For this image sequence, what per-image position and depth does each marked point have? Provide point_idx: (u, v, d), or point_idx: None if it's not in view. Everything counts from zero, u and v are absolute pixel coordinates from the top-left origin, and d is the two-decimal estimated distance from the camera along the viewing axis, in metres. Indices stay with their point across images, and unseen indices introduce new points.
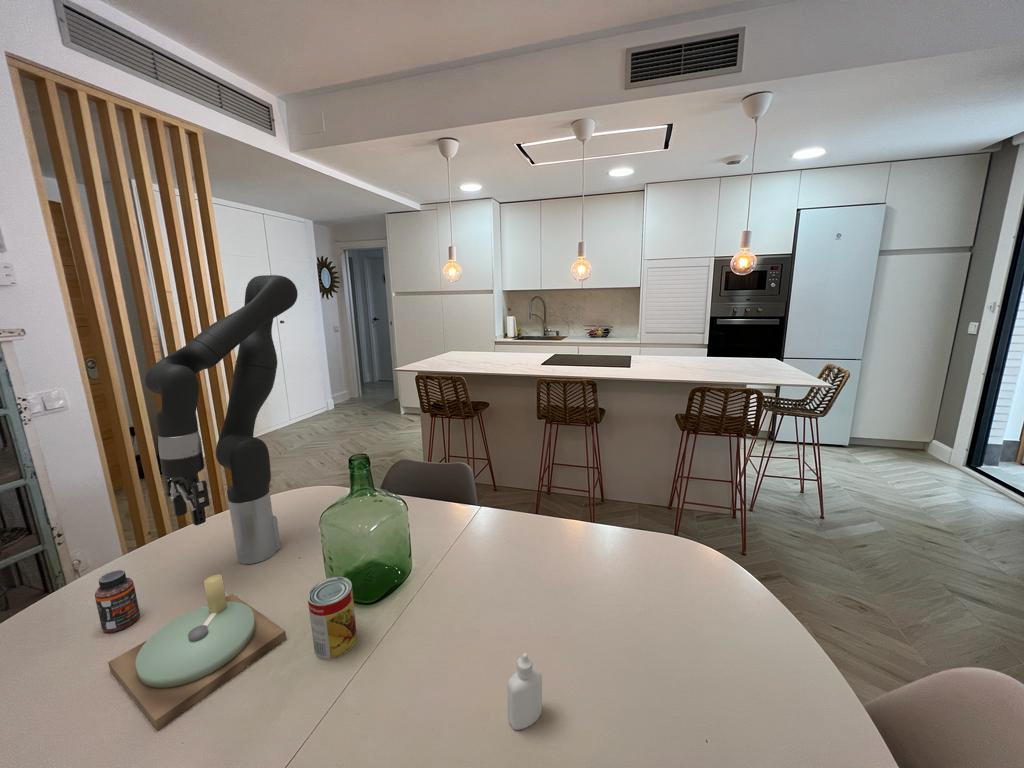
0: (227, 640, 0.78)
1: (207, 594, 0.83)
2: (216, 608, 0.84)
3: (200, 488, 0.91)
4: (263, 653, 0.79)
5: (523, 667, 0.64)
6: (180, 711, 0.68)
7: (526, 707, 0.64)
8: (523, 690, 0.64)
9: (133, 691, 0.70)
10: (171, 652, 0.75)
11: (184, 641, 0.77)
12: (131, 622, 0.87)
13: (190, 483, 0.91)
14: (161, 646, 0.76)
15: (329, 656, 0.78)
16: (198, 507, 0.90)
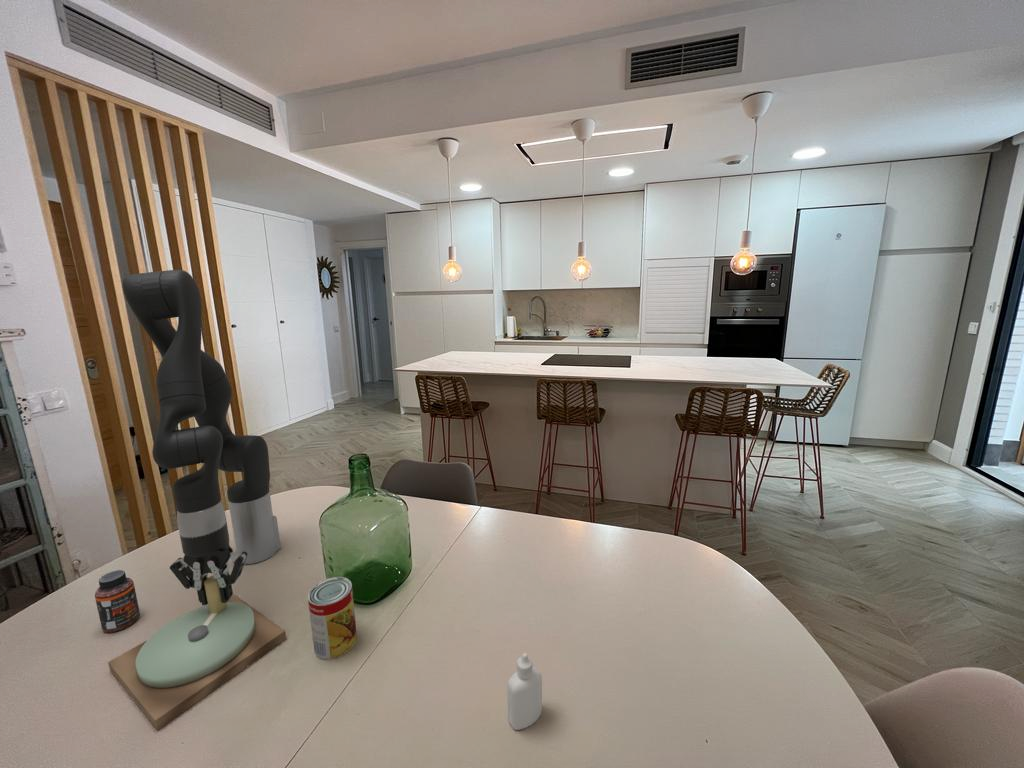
0: (227, 640, 0.78)
1: (207, 594, 0.83)
2: (216, 608, 0.84)
3: (243, 561, 0.84)
4: (263, 653, 0.79)
5: (523, 667, 0.64)
6: (180, 711, 0.68)
7: (526, 706, 0.64)
8: (523, 690, 0.64)
9: (133, 691, 0.70)
10: (171, 652, 0.75)
11: (184, 641, 0.77)
12: (131, 621, 0.87)
13: (229, 556, 0.83)
14: (161, 646, 0.76)
15: (329, 656, 0.78)
16: (235, 580, 0.84)
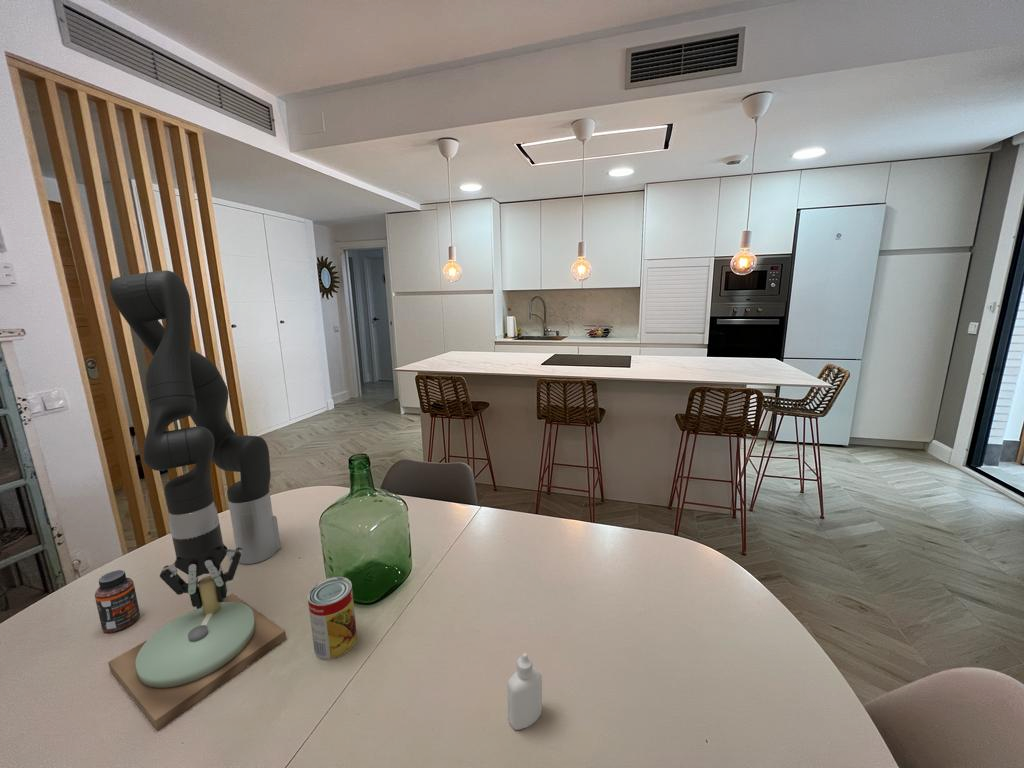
0: (231, 636, 0.79)
1: (202, 595, 0.83)
2: (211, 608, 0.84)
3: None
4: (263, 653, 0.79)
5: (523, 667, 0.64)
6: (180, 711, 0.68)
7: (526, 706, 0.64)
8: (523, 690, 0.64)
9: (133, 691, 0.70)
10: (173, 653, 0.75)
11: (185, 642, 0.77)
12: (131, 621, 0.87)
13: (226, 553, 0.84)
14: (160, 649, 0.76)
15: (329, 656, 0.78)
16: (233, 576, 0.85)
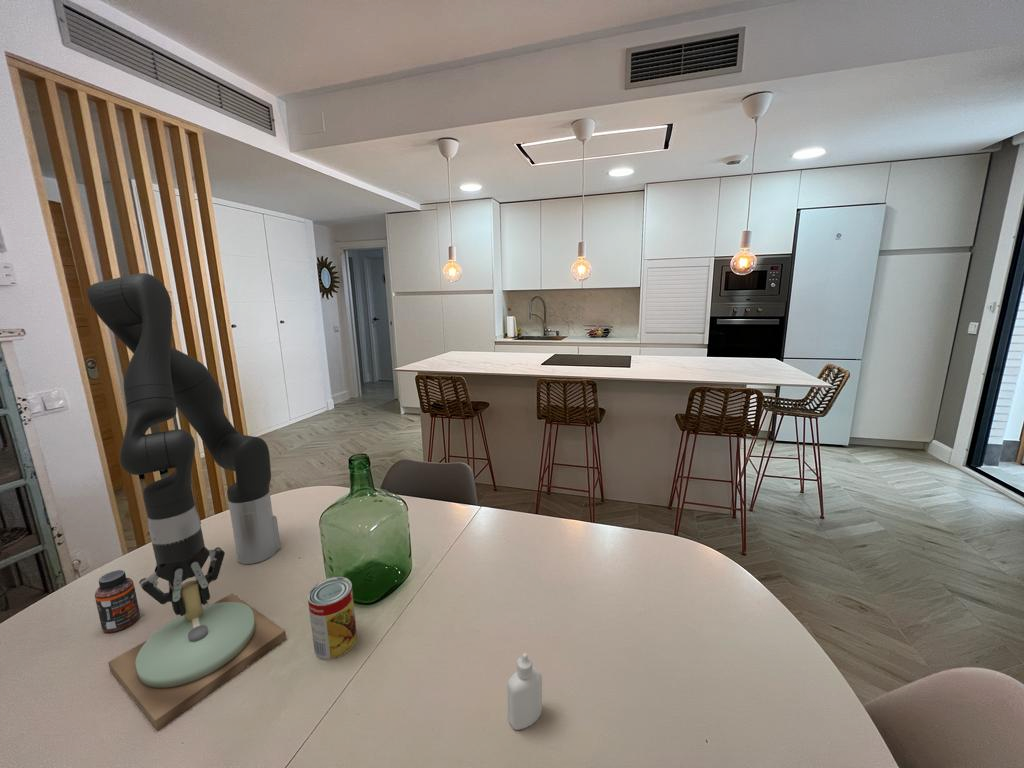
0: (238, 625, 0.81)
1: (186, 601, 0.81)
2: (197, 612, 0.83)
3: None
4: (263, 653, 0.79)
5: (523, 667, 0.64)
6: (180, 711, 0.68)
7: (526, 706, 0.64)
8: (523, 690, 0.64)
9: (133, 691, 0.70)
10: (181, 654, 0.75)
11: (187, 644, 0.77)
12: (131, 621, 0.87)
13: (209, 553, 0.84)
14: (162, 657, 0.74)
15: (329, 656, 0.78)
16: (217, 575, 0.85)
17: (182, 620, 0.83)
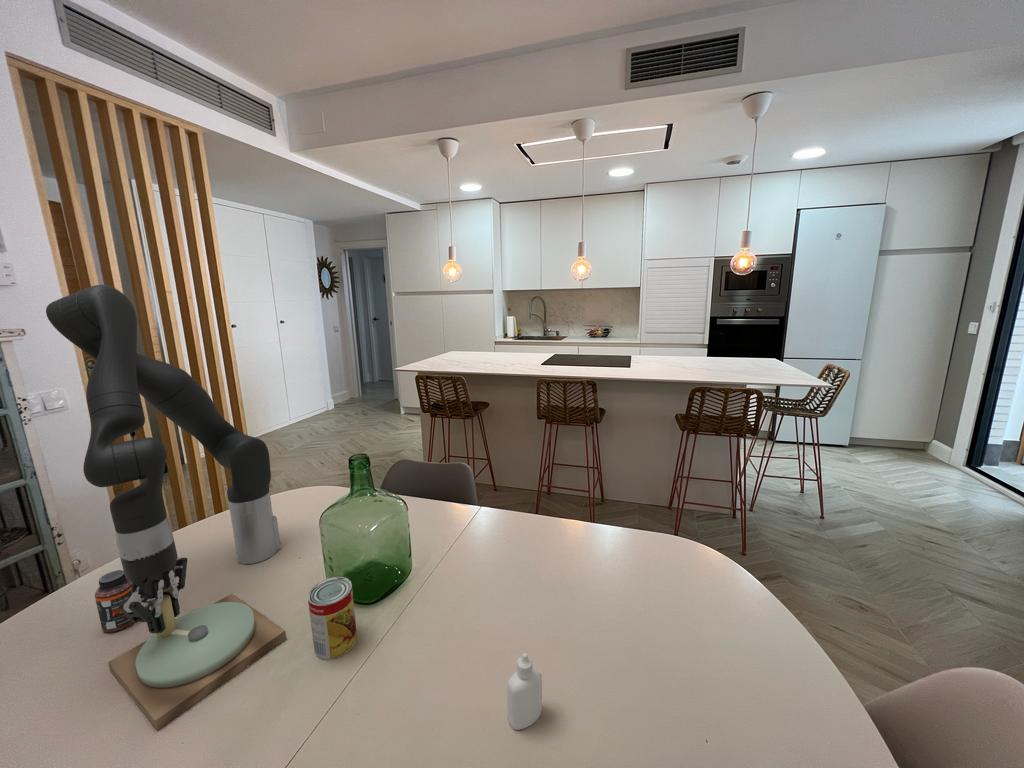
0: (233, 613, 0.84)
1: (164, 614, 0.78)
2: (174, 625, 0.80)
3: None
4: (263, 653, 0.79)
5: (523, 667, 0.64)
6: (180, 711, 0.68)
7: (526, 707, 0.64)
8: (523, 690, 0.64)
9: (133, 691, 0.70)
10: (201, 649, 0.76)
11: (195, 643, 0.77)
12: (131, 622, 0.87)
13: None
14: (179, 660, 0.73)
15: (329, 656, 0.78)
16: None
17: (157, 639, 0.78)
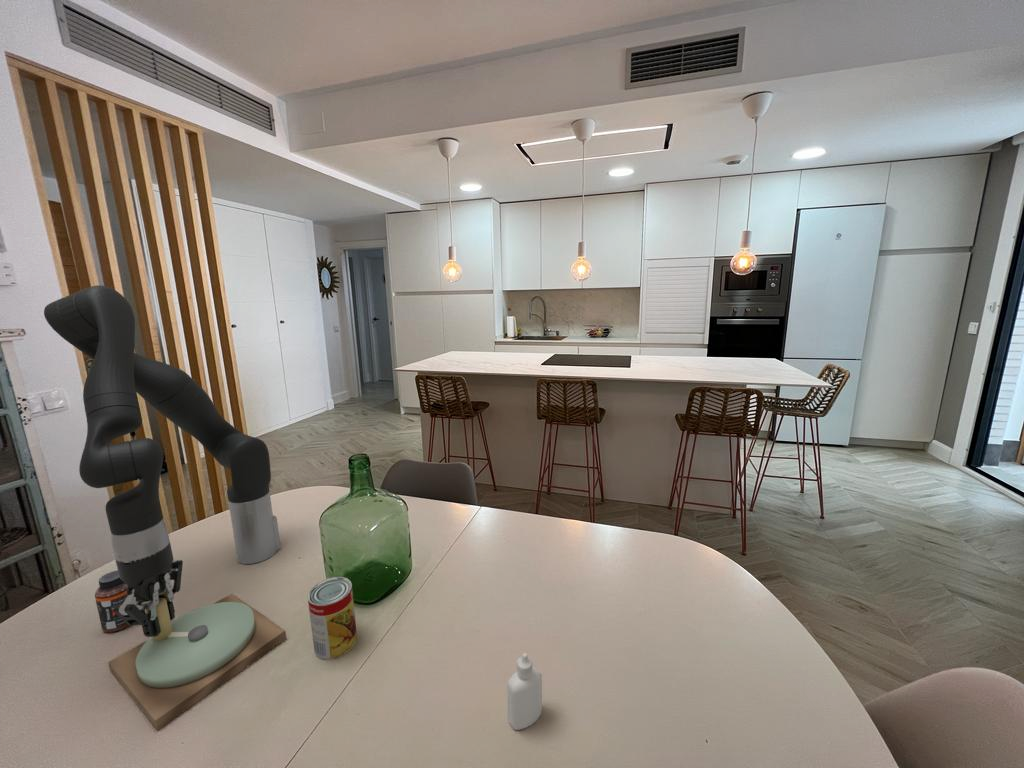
0: (231, 612, 0.85)
1: (161, 617, 0.77)
2: (170, 627, 0.79)
3: None
4: (263, 653, 0.79)
5: (523, 667, 0.64)
6: (180, 711, 0.68)
7: (526, 706, 0.64)
8: (523, 690, 0.64)
9: (133, 691, 0.70)
10: (204, 647, 0.76)
11: (196, 643, 0.77)
12: None
13: None
14: (183, 660, 0.73)
15: (329, 656, 0.78)
16: None
17: (154, 643, 0.77)
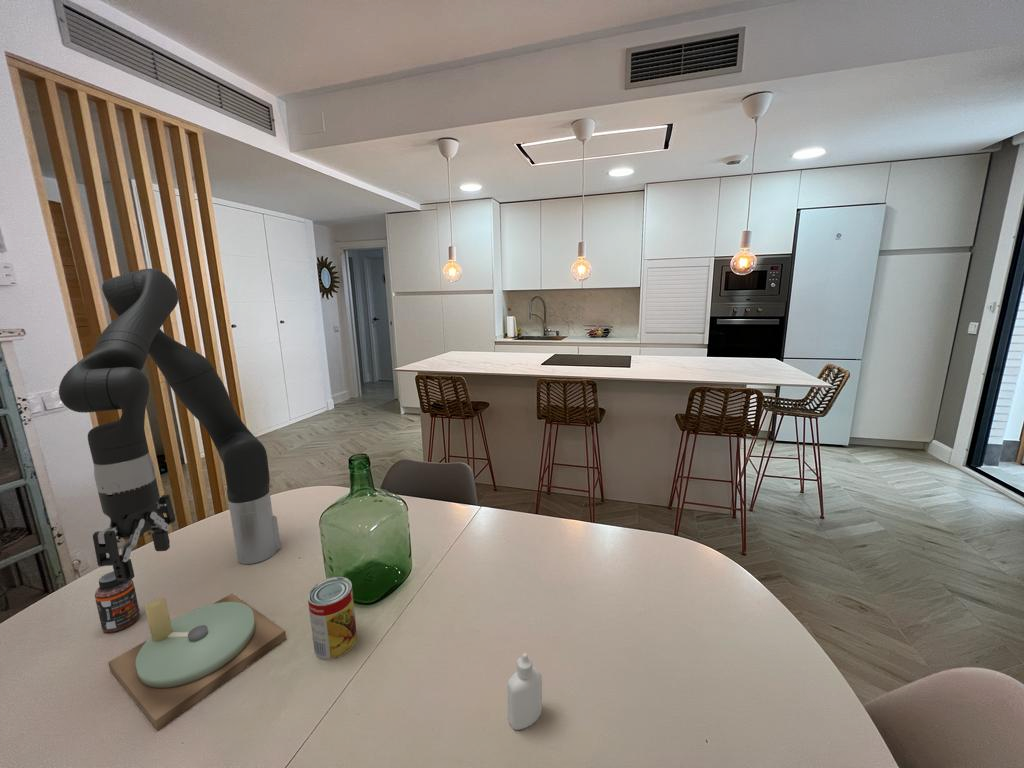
0: (231, 612, 0.85)
1: (161, 617, 0.77)
2: (170, 627, 0.79)
3: None
4: (263, 653, 0.79)
5: (523, 667, 0.64)
6: (180, 711, 0.68)
7: (526, 706, 0.64)
8: (523, 690, 0.64)
9: (133, 691, 0.70)
10: (204, 647, 0.76)
11: (197, 643, 0.77)
12: (131, 622, 0.87)
13: None
14: (183, 660, 0.73)
15: (329, 656, 0.78)
16: None
17: (153, 643, 0.77)
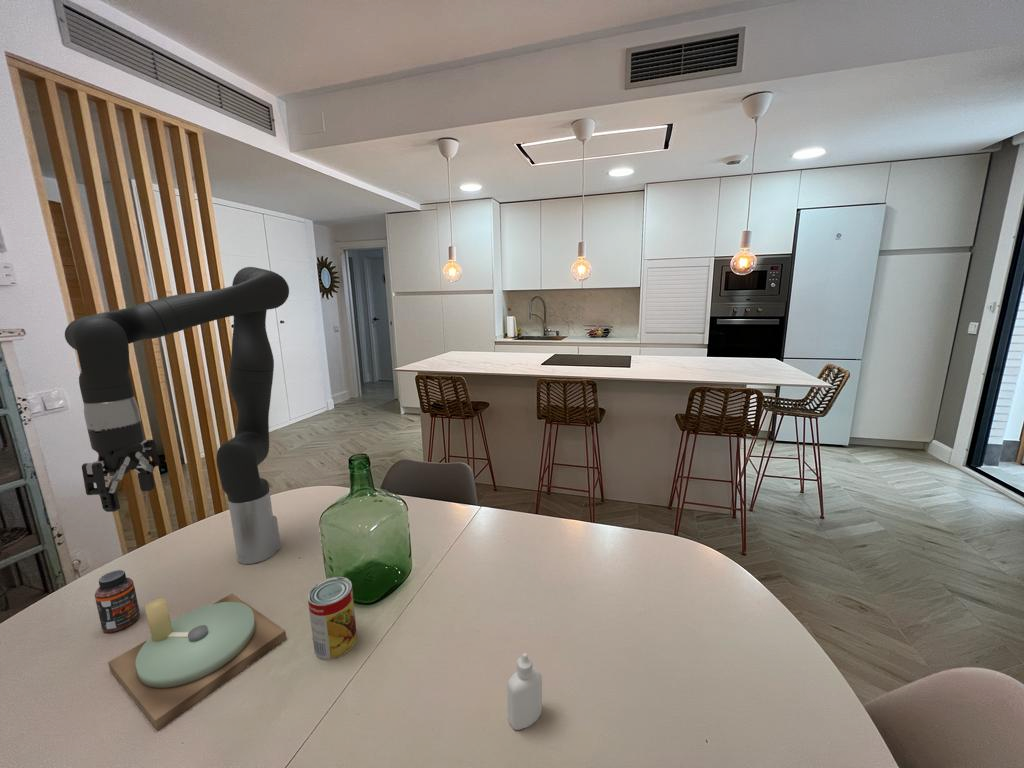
0: (231, 612, 0.85)
1: (161, 617, 0.77)
2: (170, 627, 0.79)
3: None
4: (263, 653, 0.79)
5: (523, 667, 0.64)
6: (180, 711, 0.68)
7: (526, 706, 0.64)
8: (523, 690, 0.64)
9: (133, 691, 0.70)
10: (204, 647, 0.76)
11: (197, 643, 0.77)
12: (131, 622, 0.87)
13: None
14: (183, 660, 0.73)
15: (329, 656, 0.78)
16: None
17: (153, 643, 0.77)
